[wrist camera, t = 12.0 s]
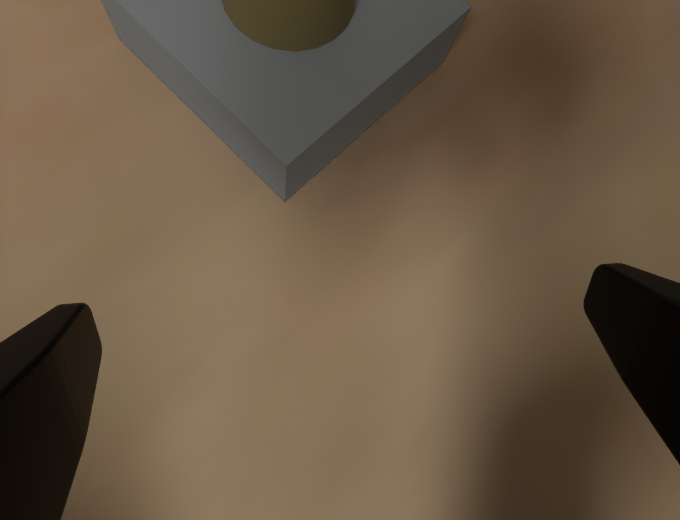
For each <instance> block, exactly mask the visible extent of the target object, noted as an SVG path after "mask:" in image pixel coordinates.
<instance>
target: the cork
mask: <svg viewBox="0 0 680 520" xmlns="http://www.w3.org/2000/svg"><path fill="white" fill-rule="evenodd" d="M222 3H223V7H224V11H225V12H226V14H227V15H228V17H229V18H230V20H231V21H232V23H233V24H234V26H235V27H236V28H237V29H238V30H240V31H241V32H242V33H243V34H245V35H246V36H247V37H248V38H250V39H251V40H252V41H255V42H257V43H259V44H262V45H264V46H267V47H269V48H272V49H277V50H285V51H293V52H297V51H304V50H310V49H316V48H319V47H321V46H323V45H325V44H327V43H329V42H331V41H333V40H335V39H336V38H337V37H338V36H339V35H340V34H341V33H342V32H343V31H344V30H345V29H346V28H347V27H348V25H349V23H350V21H351V18H352V16H353V14H354V12H355V0H222Z"/></svg>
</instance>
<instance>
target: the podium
mask: <svg viewBox="0 0 680 520" xmlns="http://www.w3.org/2000/svg"><path fill="white" fill-rule="evenodd" d="M101 1H102V4H103V6H104V8H105V10H106V12H107V14H108V16H109V19H110V21H111V23H112V25H113V27H114V29H115V31H116V34H117V36H118V38H119V39H120V40H121V41H122V42H123V43H124V44H125V45H126V46H127V47H128V48H129V49H130V50H131V51H132V52H133V53H134V54H135V55H136V56H137V57H138V58H139V59H140V60H141V61H142V62H143V63H144V64H145V65H146V66H147V67H148V68H149V69H150V70H152V71H153V72H154V73H155V74H156V75H157V76H158V77H159V78H160V79H161V80H162V81H163V82H164V83H165V84H166V85H167V86H168V87H169V88H170V89H171V90H172V91H173V92H174V93H175V94H176V95H177V96H178V97H179V98H180V99H181V100H182V101H183V102H184V103H185V104H186V105H187V106H188V107H189V108H190V109H191V110H192V111H193V112H194V113H195V114H196V115H197V116H198V117H199V118H200V119H201V120H202V121H203V122H204V123H205V124H206V125H207V126H208V127H209V128H210V129H211V130H212V131H214V132H215V133H216V134H217V135H218V136H219V137H220V138H221V139H222V140H223V141H224V142H225V143H226V144H227V145H228V146H229V147H230V148H231V149H232V150H233V151H234V152H235V153H236V154H237V155H238V156H239V157H240V158H241V159H242V160H243V161H244V162H245V163H246V164H247V165H248V166H249V167H250V168H251V169H252V170H253V171H254V172H255V173H256V174H257V175H258V176H259V177H260V178H261V179H262V180H263V181H264V182H265V183H266V184H267V185H268V186H269V187H270V188H271V189H272V190H273V191H274V192H276V193H277V194H278V195H279V196H280V197H281V198H282V199H283V200H284V201H286V200H288V199H289V198H290V197H291V196H292V195H293V194H294V193H296V192H297V191H298V190H299V189H300V188H301V187H302V186H303V185H305V184H306V183H307V182H308V181H309V180H310V179H311V178H312V177H314V176H315V175H316V174H317V173H318V172H319V171H320V170H321V169H323V168H324V167H325V166H326V165H327V164H328V163H329V162H331V161H332V160H333V159H334V158H335V157H336V156H337V155H338V154H340V153H341V152H342V151H343V150H344V149H345V148H346V147H347V146H349V145H350V144H351V143H352V142H353V141H354V140H355V139H357V138H358V137H359V136H360V135H361V134H362V133H363V132H364V131H366V130H367V129H368V128H369V127H370V126H371V125H372V124H373V123H375V122H376V121H377V120H378V119H379V118H380V117H381V116H382V115H384V114H385V113H386V112H387V111H388V110H389V109H390V108H392V107H393V106H394V105H395V104H396V103H397V102H398V101H399V100H401V99H402V98H403V97H404V96H405V95H406V94H407V93H408V92H410V91H411V90H412V89H413V88H414V87H415V86H416V85H418V84H419V83H420V82H421V81H422V80H423V79H424V78H425V77H427V76H428V75H429V74H430V73H431V72H432V71H433V70H434V69H436V68H437V67H438V66H439V65H440V64H441V63H442V62H443V61H444V59H445V57H446V55H447V53H448V52H449V50H450V48H451V46H452V44H453V42H454V40H455V38H456V36H457V34H458V32H459V30H460V28H461V26H462V24H463V22H464V20H465V19H466V17H467V15H468V13H469V11H470V9H471V6H470V5H469V4H468V3H467V2H466V1H465V0H355V12H354V14H353V16H352V18H351V21H350V23H349V25H348V27H347V28H346V29H345V30H344V31H343V32H342V33H341V34H340V35H339V36H338V37H337V38H336V39H335V40H333V41H331V42H329V43H327V44H325V45H323V46H321V47H319V48H316V49H310V50H304V51H297V52H293V51H285V50H277V49H272V48H269V47H267V46H264V45H262V44H259V43H257V42H255V41H252V40H251V39H250V38H248V37H247V36H246V35H245V34H243V33H242V32H241V31H240V30H238V29H237V28H236V27H235V26H234V24H233V23H232V21H231V20H230V18H229V17H228V15H227V14H226V12H225V11H224V7H223V3H222V0H101Z"/></svg>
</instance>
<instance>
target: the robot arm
mask: <svg viewBox="0 0 680 520" xmlns="http://www.w3.org/2000/svg"><path fill="white" fill-rule="evenodd" d="M583 305H584V310H585V313H586V315H587V317H588V319H589V321H590V323H591V325H592V326H593V328H594V330H595V332H596V334H597V335H598V337H599V339H600V341H601V343H602V345H603V346H604V348H605V350H606V352H607V354H608V356H609V357H610V359H611V361H612V363H613V365H614V367H615V368H616V370H617V372H618V374H619V375H620V377H621V379H622V380H623V382H624V384H625V385H626V387H627V388H628V390H629V391H630V393H631V394H632V396H633V397H634V399H635V400H636V402H637V403H638V404H639V406H640V407H641V409H642V410H643V412H644V413H645V415H646V416H647V418H648V419H649V421H650V422H651V424H652V425H653V426H654V428H655V429H656V431H657V432H658V434H659V435H660V437H661V438H662V440H663V441H664V443H665V444H666V446H667V447H668V448H669V450H670V451H671V453H672V454H673V456H674V457H675V459H676V460H677V462H678V463H679V465H680V283H678V282H675V281H672V280H669V279H666V278H663V277H660V276H657V275H655V274H652V273H649V272H646V271H643V270H640V269H637V268H634V267H631V266H628V265H625V264H622V263H612V264H601V265H599V266H597V267H596V269H595V270H594V272H593V275H592V278H591V281H590V283H589V286H588V289H587V292H586V295H585V298H584V304H583ZM101 356H102V345H101V340H100V337H99V334H98V331H97V327H96V324H95V321H94V318H93V315H92V311H91V309H90V307H89V306H88V305H87V304H85V303H72V304H61V305H58V306H56V307H54V308H53V309H51V310H50V311H48V312H47V313H45V314H44V315H42V316H40V317H39V318H37V319H36V320H34V321H33V322H31V323H30V324H28V325H27V326H25V327H24V328H22V329H20V330H19V331H17V332H16V333H14V334H13V335H11V336H10V337H8V338H7V339H5V340H4V341H2V342H1V343H0V520H61V517H62V514H63V511H64V508H65V505H66V501H67V498H68V495H69V492H70V489H71V486H72V483H73V479H74V476H75V473H76V470H77V467H78V464H79V460H80V457H81V454H82V451H83V447H84V444H85V440H86V435H87V431H88V426H89V421H90V416H91V410H92V405H93V399H94V394H95V389H96V383H97V378H98V373H99V367H100V362H101Z"/></svg>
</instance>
